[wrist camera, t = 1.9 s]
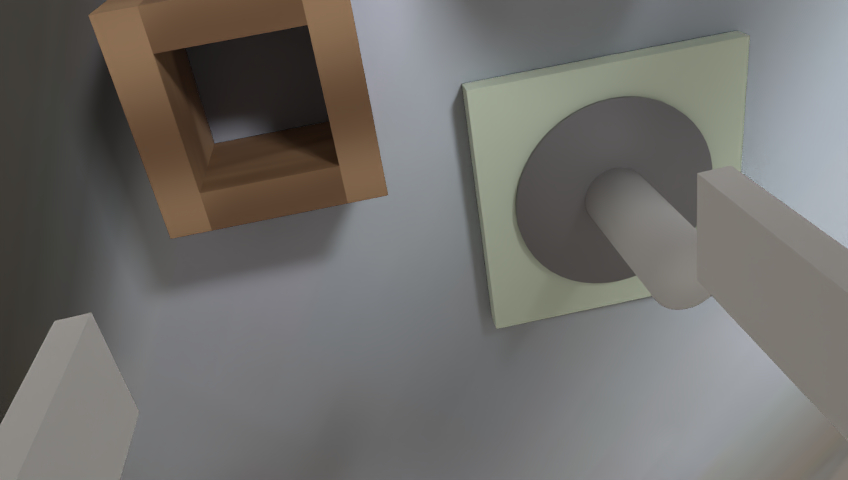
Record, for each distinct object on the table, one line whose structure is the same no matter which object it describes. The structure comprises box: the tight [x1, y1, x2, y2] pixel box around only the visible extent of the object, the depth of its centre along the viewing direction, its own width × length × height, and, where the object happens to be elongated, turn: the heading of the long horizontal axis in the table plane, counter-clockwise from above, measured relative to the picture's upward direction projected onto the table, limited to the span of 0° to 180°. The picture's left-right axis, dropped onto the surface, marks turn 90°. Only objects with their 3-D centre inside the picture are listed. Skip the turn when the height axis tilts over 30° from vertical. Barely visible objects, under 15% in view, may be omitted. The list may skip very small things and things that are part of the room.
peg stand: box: [462, 31, 750, 329], centre depth 30 cm, size 12×12×8 cm
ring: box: [89, 0, 388, 239], centre depth 27 cm, size 8×8×5 cm
